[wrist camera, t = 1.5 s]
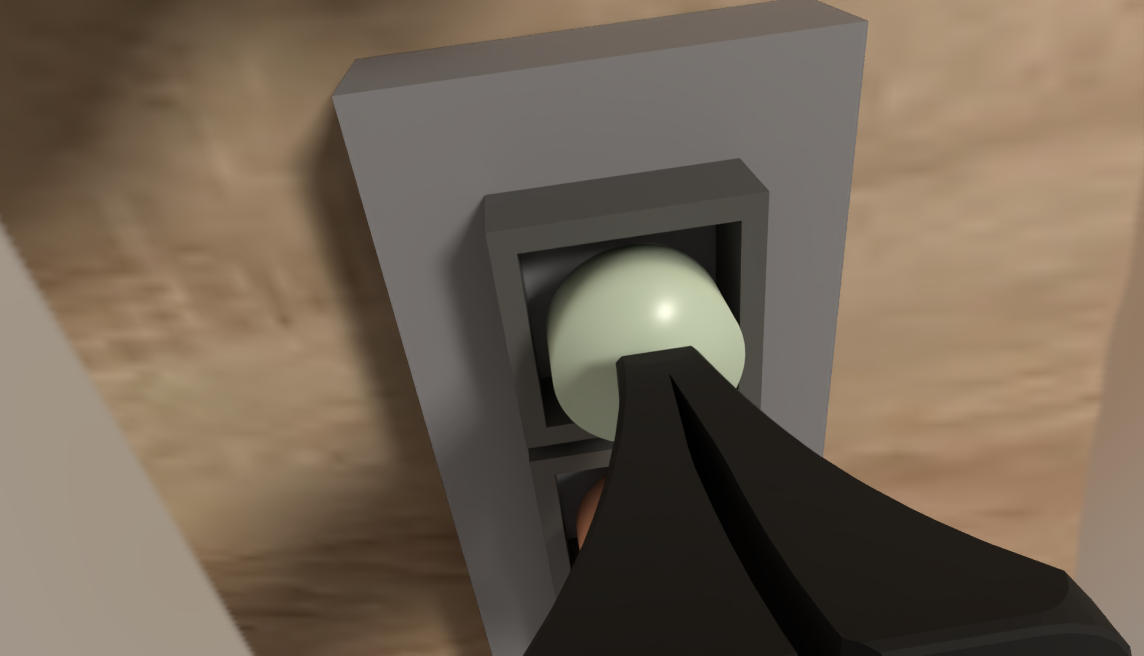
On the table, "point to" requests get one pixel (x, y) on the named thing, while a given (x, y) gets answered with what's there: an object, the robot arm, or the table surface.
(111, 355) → the table surface
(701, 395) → the robot arm
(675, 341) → the sage button
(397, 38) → the table surface
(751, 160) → the charcoal button panel
